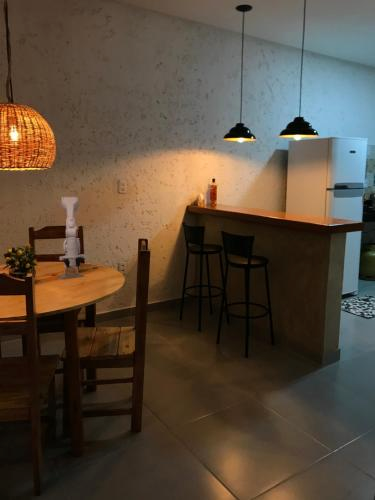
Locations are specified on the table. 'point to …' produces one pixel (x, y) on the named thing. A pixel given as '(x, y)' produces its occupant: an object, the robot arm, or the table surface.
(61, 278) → the baseplate
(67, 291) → the table surface
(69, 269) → the walnut brick
